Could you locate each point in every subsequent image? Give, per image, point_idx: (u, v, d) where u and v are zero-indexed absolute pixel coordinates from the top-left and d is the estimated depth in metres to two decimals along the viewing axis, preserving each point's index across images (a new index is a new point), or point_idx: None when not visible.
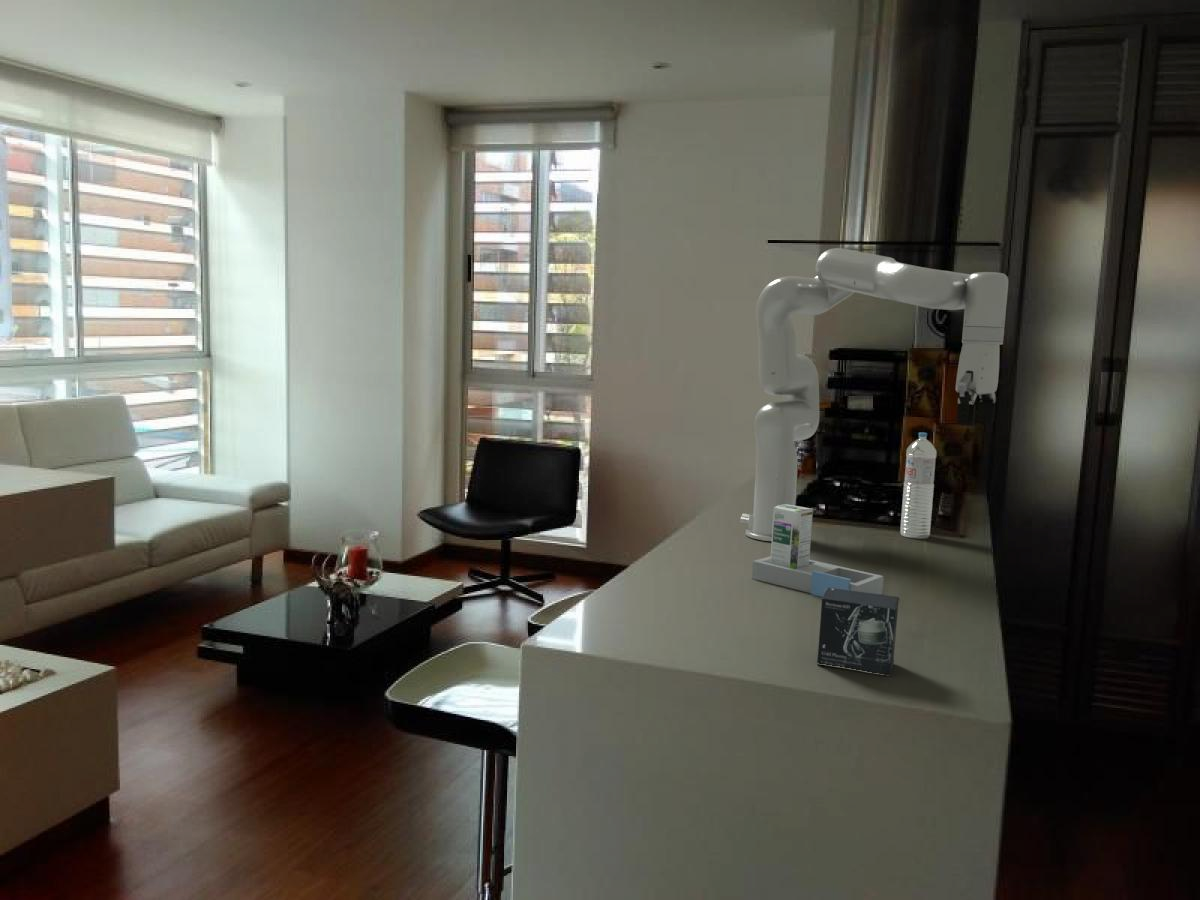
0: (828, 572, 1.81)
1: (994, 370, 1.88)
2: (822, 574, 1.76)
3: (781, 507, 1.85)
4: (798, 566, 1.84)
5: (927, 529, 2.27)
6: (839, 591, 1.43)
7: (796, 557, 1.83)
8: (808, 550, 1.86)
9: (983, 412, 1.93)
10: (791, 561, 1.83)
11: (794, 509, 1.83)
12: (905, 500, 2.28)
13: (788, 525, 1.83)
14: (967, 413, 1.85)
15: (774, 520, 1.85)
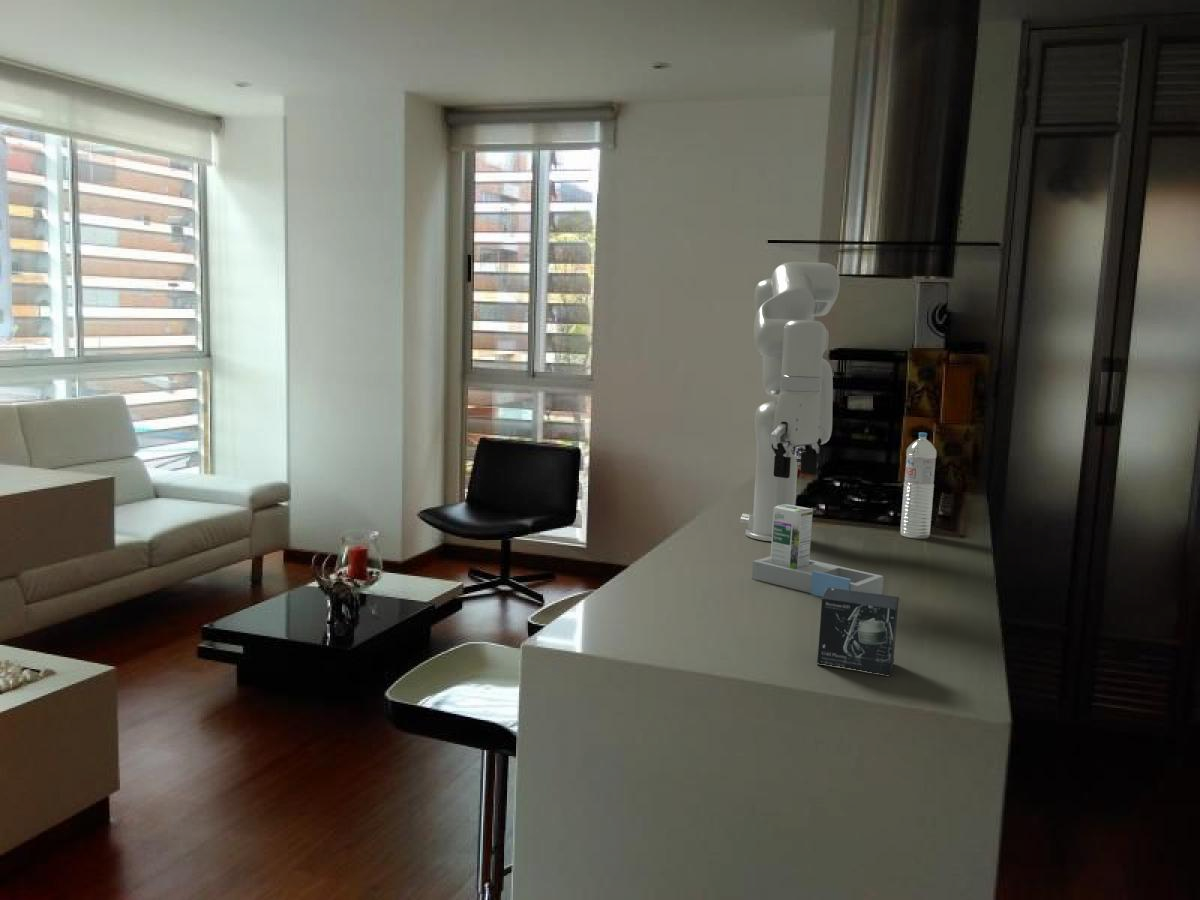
0: (828, 572, 1.81)
1: (812, 421, 1.82)
2: (822, 574, 1.76)
3: (781, 507, 1.85)
4: (798, 566, 1.84)
5: (927, 529, 2.27)
6: (839, 591, 1.43)
7: (796, 557, 1.83)
8: (808, 550, 1.86)
9: (806, 463, 1.87)
10: (791, 561, 1.83)
11: (794, 509, 1.83)
12: (905, 500, 2.28)
13: (788, 525, 1.83)
14: (782, 465, 1.79)
15: (774, 520, 1.85)
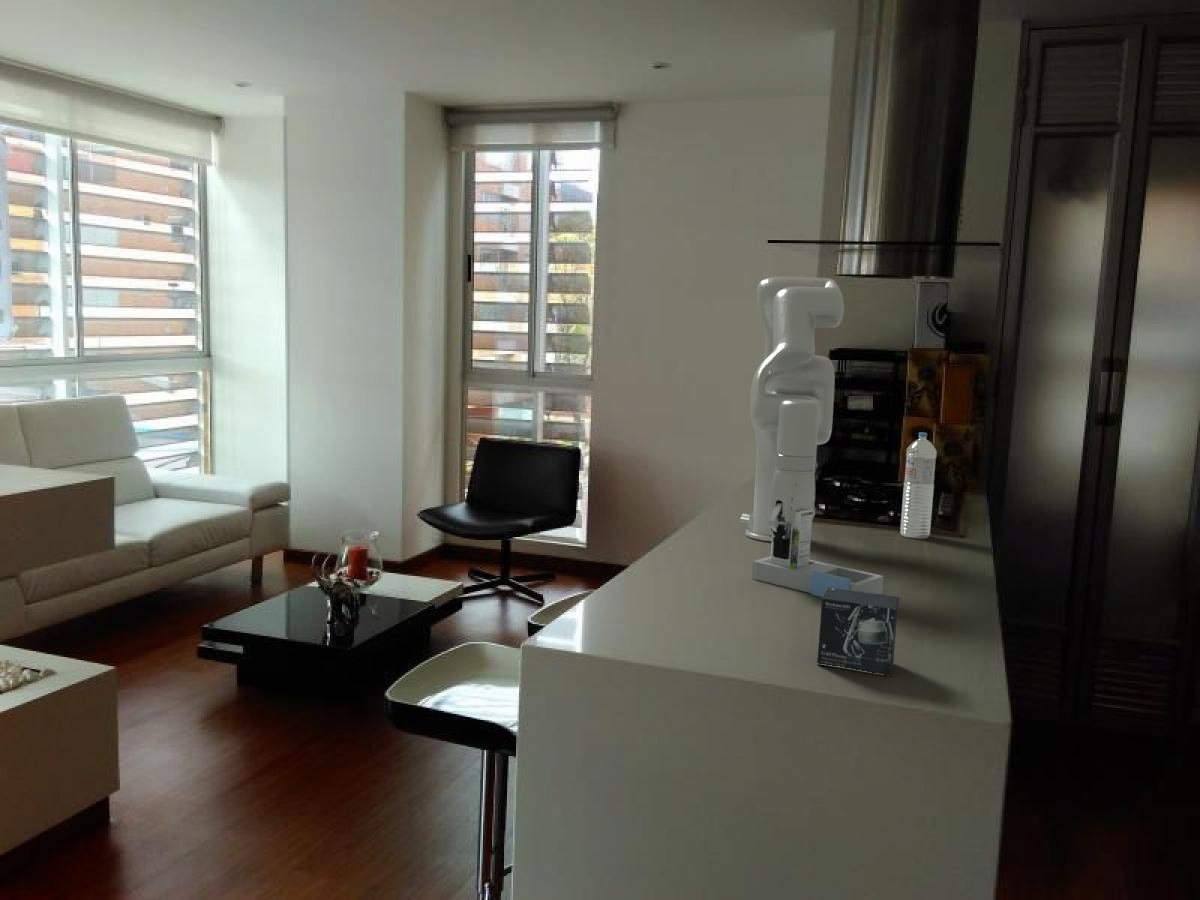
0: (828, 572, 1.81)
1: (807, 498, 1.84)
2: (822, 574, 1.76)
3: None
4: (798, 566, 1.84)
5: (927, 529, 2.27)
6: (840, 591, 1.43)
7: (796, 556, 1.83)
8: (808, 550, 1.86)
9: None
10: (791, 561, 1.83)
11: None
12: (905, 500, 2.28)
13: None
14: (781, 547, 1.83)
15: None
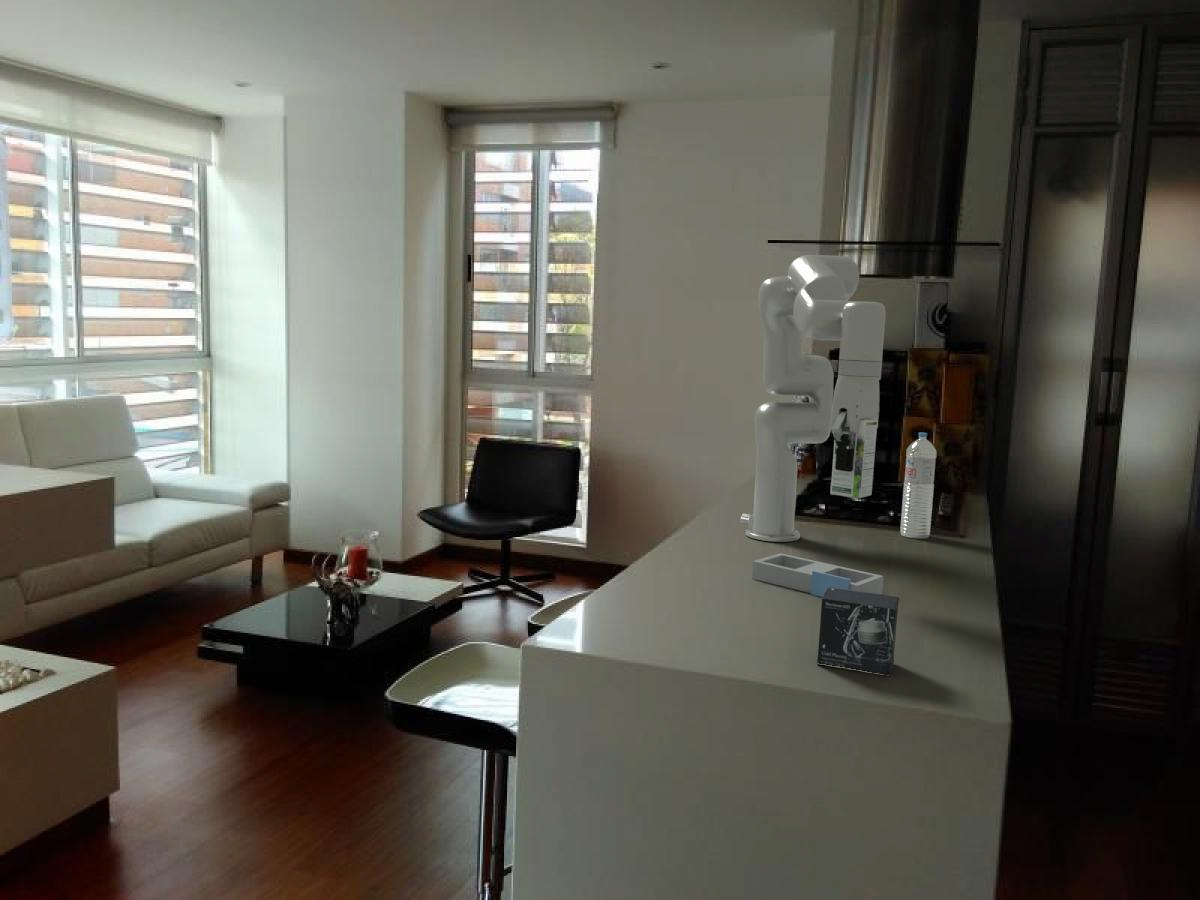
0: (828, 572, 1.81)
1: (872, 407, 1.73)
2: (822, 574, 1.76)
3: None
4: (862, 479, 1.73)
5: (927, 529, 2.27)
6: (839, 591, 1.43)
7: (861, 468, 1.72)
8: (872, 463, 1.75)
9: None
10: (856, 473, 1.72)
11: None
12: (905, 500, 2.28)
13: None
14: (845, 458, 1.72)
15: None
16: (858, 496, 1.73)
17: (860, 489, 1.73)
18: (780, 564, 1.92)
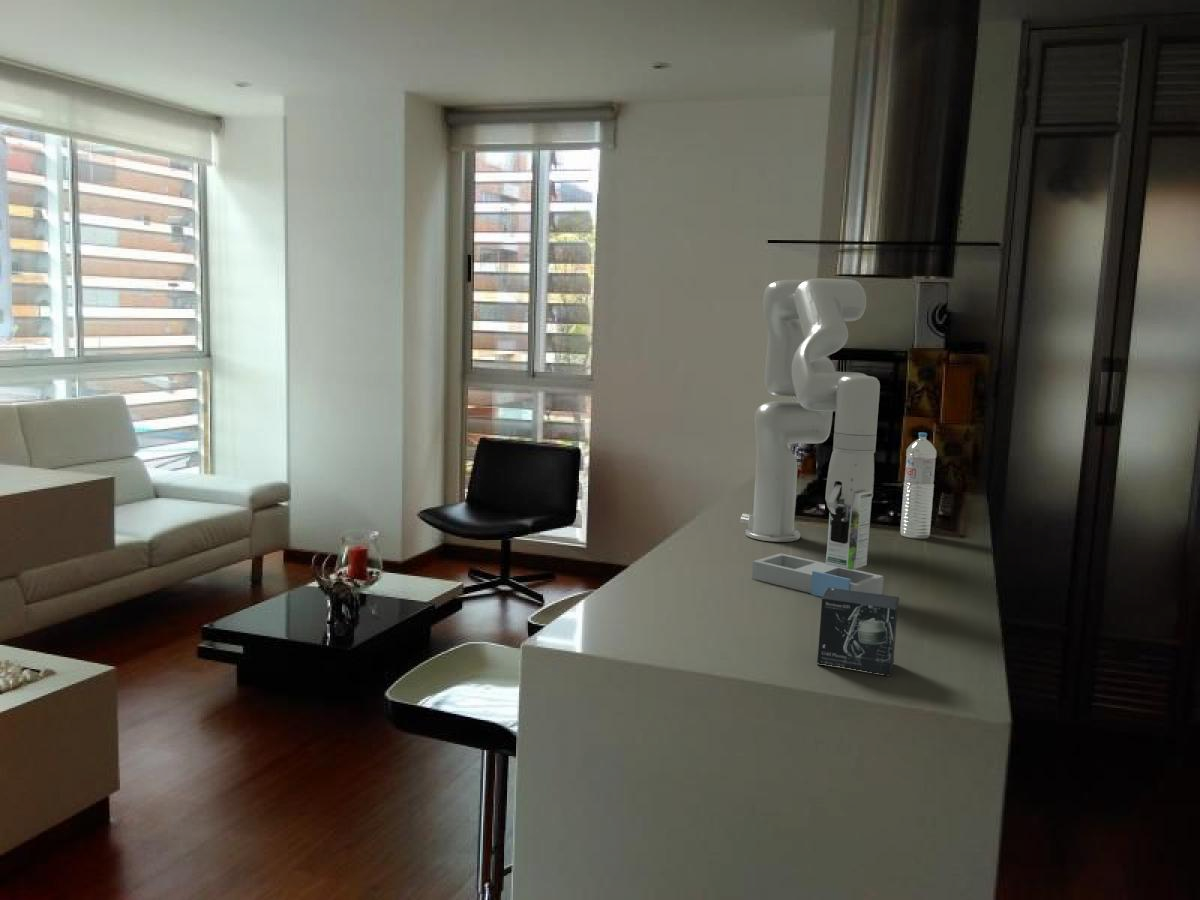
0: (828, 572, 1.81)
1: (867, 479, 1.75)
2: (822, 574, 1.76)
3: None
4: (857, 550, 1.75)
5: (927, 529, 2.27)
6: (839, 591, 1.43)
7: (856, 540, 1.74)
8: (867, 534, 1.77)
9: None
10: (851, 545, 1.74)
11: None
12: (905, 500, 2.28)
13: None
14: (840, 531, 1.74)
15: None
16: (853, 568, 1.75)
17: (855, 561, 1.75)
18: (780, 564, 1.92)
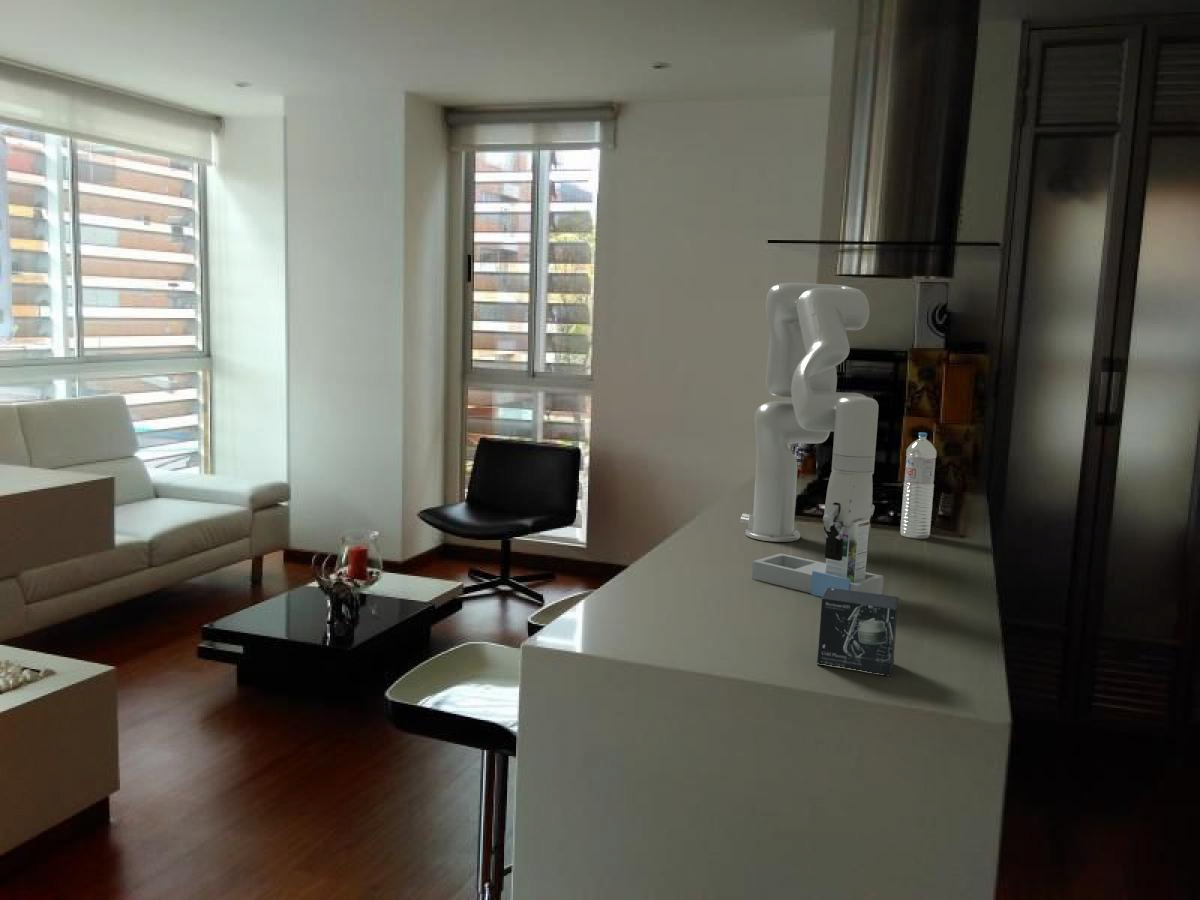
0: None
1: (865, 500, 1.76)
2: (822, 574, 1.76)
3: None
4: (855, 579, 1.76)
5: (927, 529, 2.27)
6: (839, 591, 1.43)
7: (853, 569, 1.75)
8: (865, 562, 1.78)
9: None
10: (848, 573, 1.75)
11: None
12: (905, 500, 2.28)
13: (845, 536, 1.75)
14: (834, 548, 1.73)
15: None
16: None
17: None
18: (780, 564, 1.92)
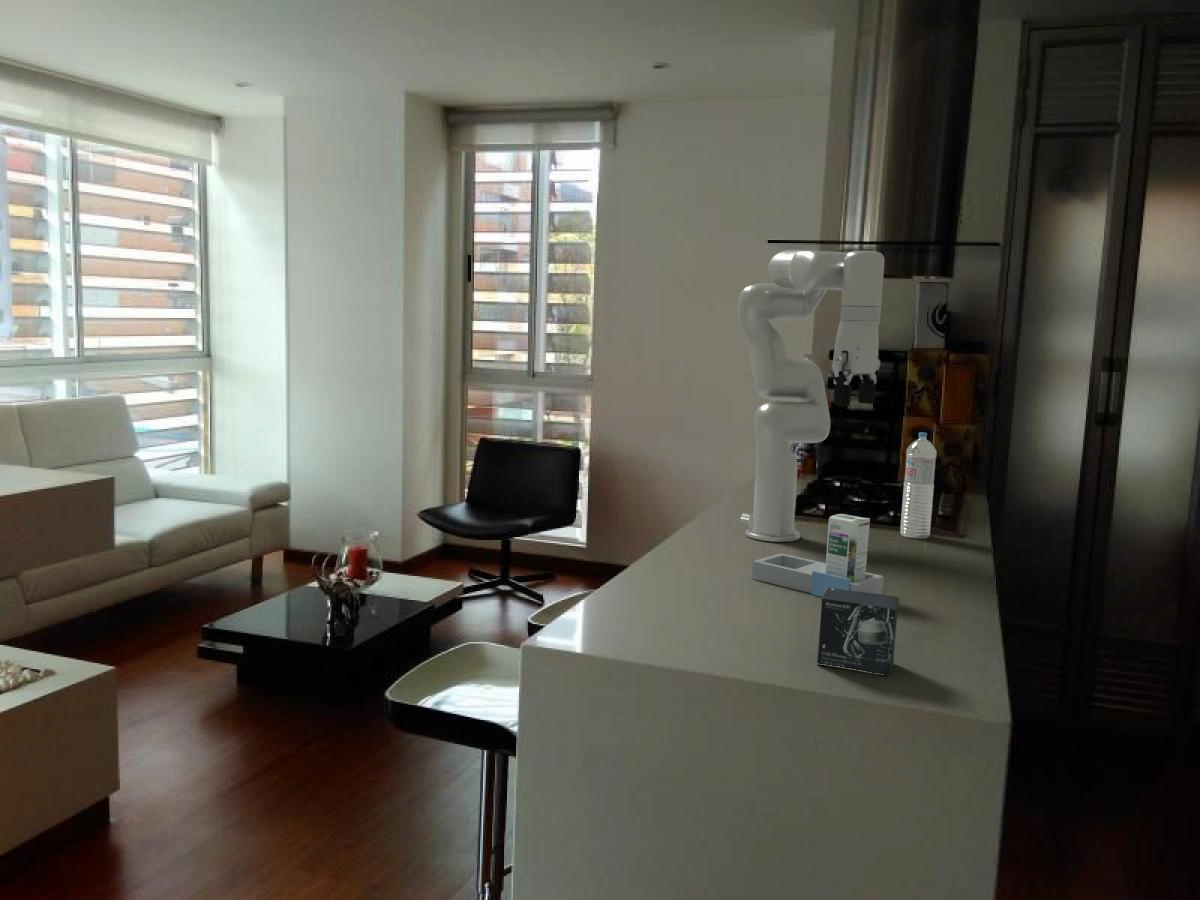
0: None
1: (872, 350, 1.86)
2: (822, 574, 1.76)
3: (837, 517, 1.77)
4: (855, 579, 1.76)
5: (927, 529, 2.27)
6: (839, 591, 1.43)
7: (853, 569, 1.75)
8: (865, 562, 1.78)
9: (864, 393, 1.91)
10: (848, 573, 1.75)
11: (851, 519, 1.75)
12: (905, 500, 2.28)
13: (845, 536, 1.75)
14: (843, 393, 1.83)
15: (829, 531, 1.77)
16: None
17: None
18: (780, 564, 1.92)
